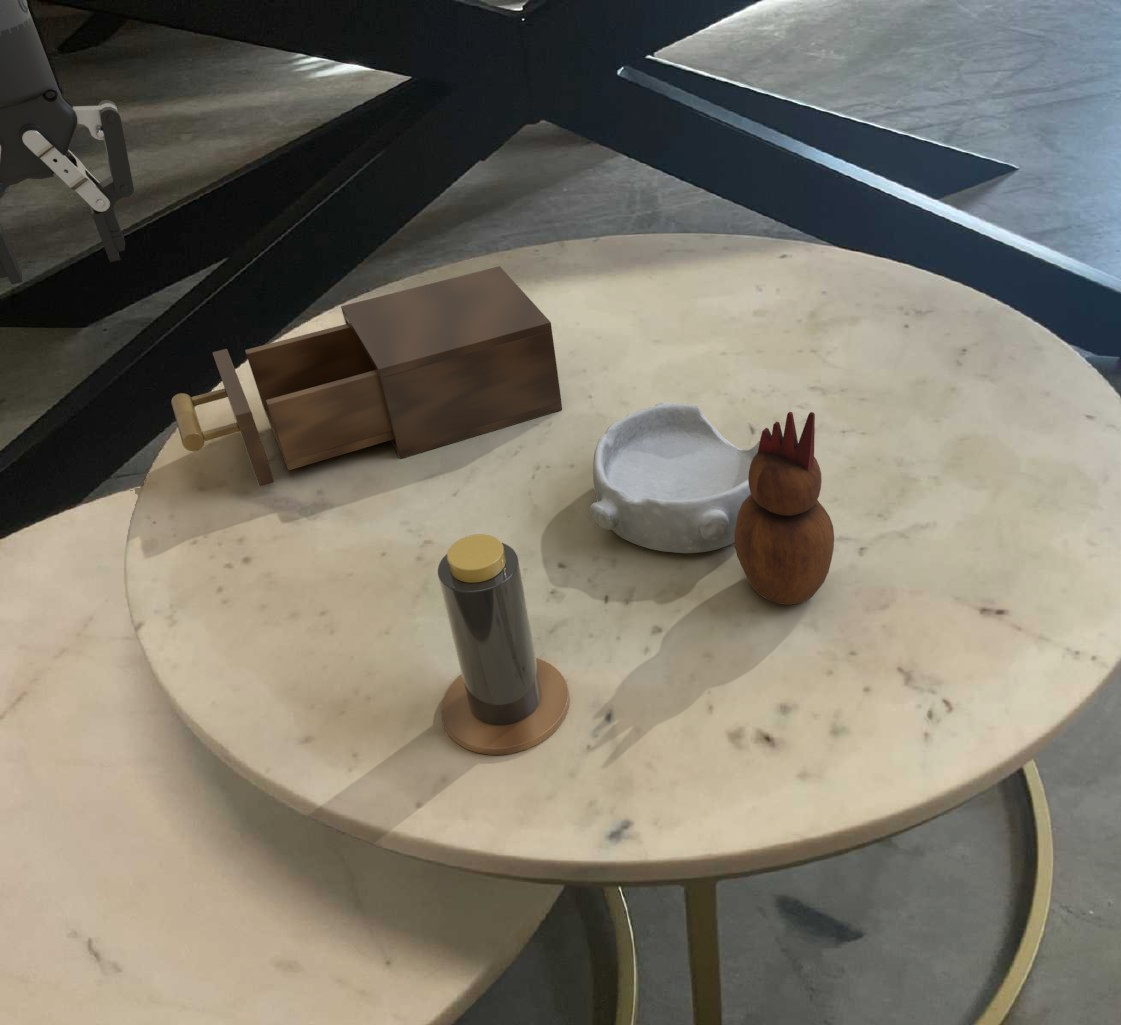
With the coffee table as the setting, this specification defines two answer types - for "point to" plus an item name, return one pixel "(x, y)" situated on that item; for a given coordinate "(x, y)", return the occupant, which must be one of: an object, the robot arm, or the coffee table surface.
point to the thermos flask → (490, 629)
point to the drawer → (298, 400)
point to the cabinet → (458, 358)
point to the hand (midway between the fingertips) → (65, 267)
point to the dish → (670, 480)
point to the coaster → (511, 736)
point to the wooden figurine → (785, 518)
